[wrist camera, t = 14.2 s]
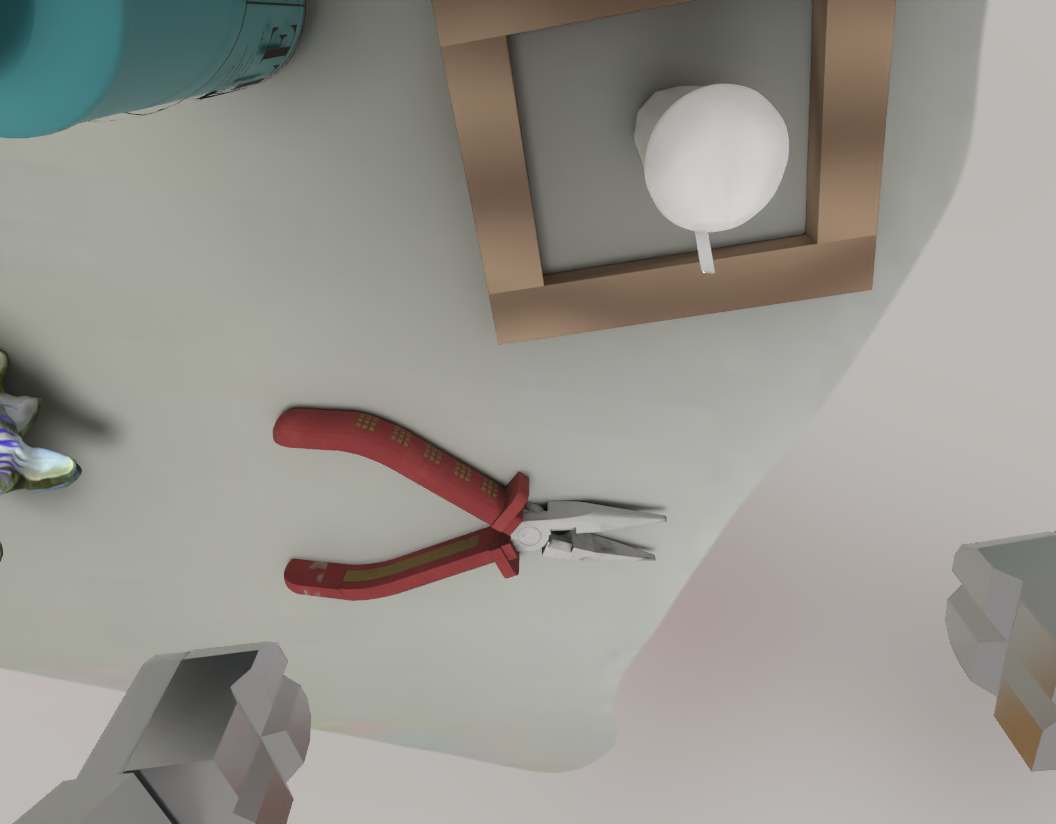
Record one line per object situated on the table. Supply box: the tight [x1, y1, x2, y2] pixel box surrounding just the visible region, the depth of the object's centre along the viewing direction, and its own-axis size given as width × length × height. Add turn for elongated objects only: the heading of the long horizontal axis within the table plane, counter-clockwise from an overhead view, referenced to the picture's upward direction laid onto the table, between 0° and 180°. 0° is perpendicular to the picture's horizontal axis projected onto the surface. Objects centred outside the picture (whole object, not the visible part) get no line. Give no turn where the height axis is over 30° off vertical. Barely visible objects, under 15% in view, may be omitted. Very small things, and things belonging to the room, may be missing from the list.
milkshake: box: [633, 84, 789, 274], centre depth 25 cm, size 4×5×10 cm
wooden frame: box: [431, 0, 896, 345], centre depth 29 cm, size 15×17×2 cm
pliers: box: [273, 408, 667, 601], centre depth 39 cm, size 12×21×3 cm, turn 84°
